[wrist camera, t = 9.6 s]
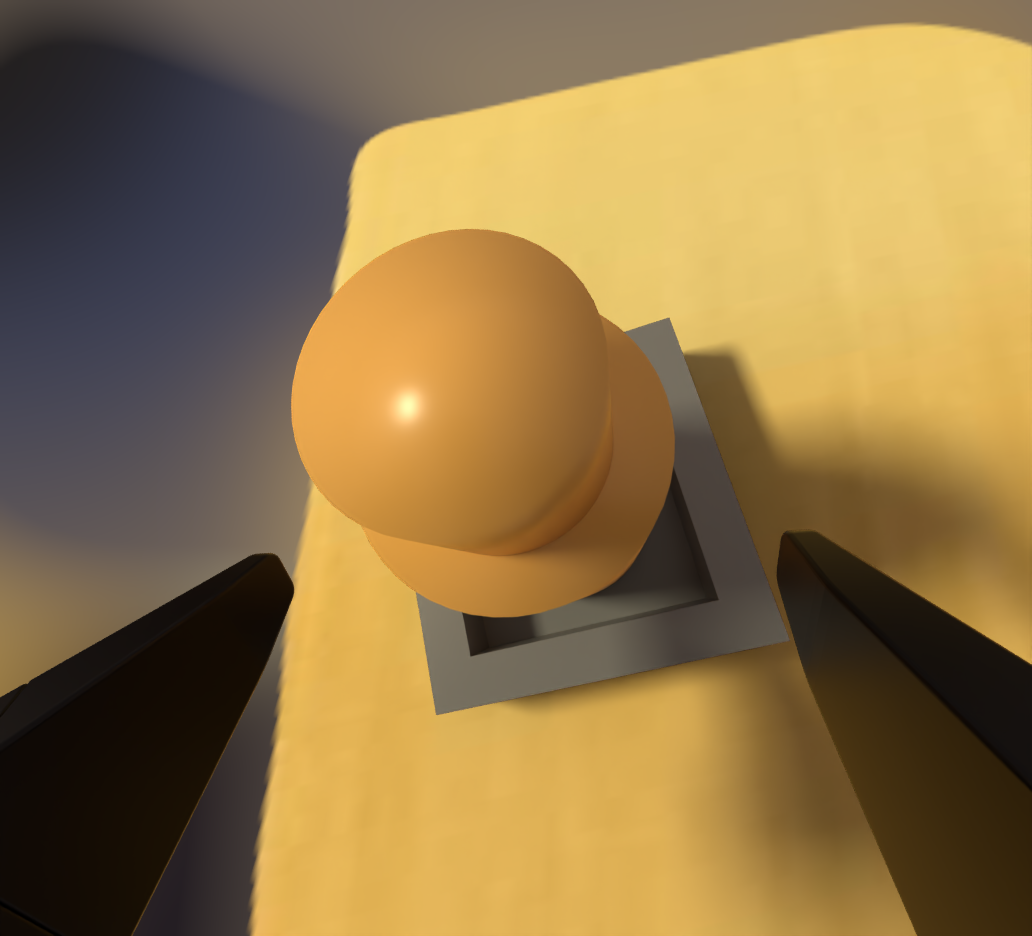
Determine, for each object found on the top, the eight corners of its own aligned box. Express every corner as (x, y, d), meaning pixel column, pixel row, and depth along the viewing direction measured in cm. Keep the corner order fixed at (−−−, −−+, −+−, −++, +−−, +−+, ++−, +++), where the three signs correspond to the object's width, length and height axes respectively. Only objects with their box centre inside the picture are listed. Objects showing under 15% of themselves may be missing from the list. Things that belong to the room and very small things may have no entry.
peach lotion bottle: (679, 547, 17) (833, 451, 5) (534, 627, 17) (313, 741, 5) (593, 414, 19) (535, 86, 6) (464, 489, 19) (176, 321, 7)
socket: (762, 631, 16) (790, 640, 14) (464, 695, 18) (436, 715, 15) (662, 354, 19) (669, 317, 17) (416, 430, 21) (386, 408, 18)
